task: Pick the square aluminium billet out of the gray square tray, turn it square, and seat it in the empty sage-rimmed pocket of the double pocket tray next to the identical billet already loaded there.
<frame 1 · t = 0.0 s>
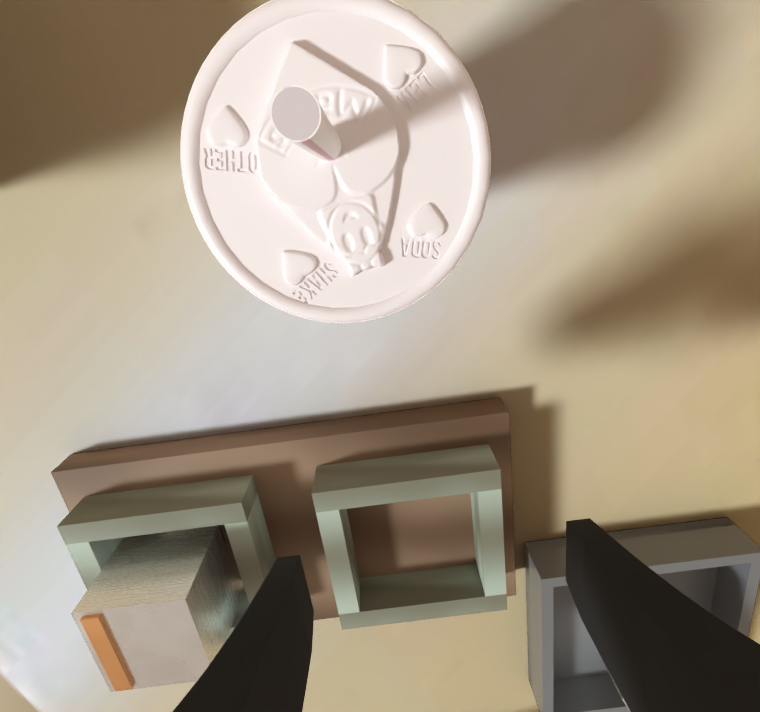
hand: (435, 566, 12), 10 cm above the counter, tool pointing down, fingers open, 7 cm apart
double pocket tray: (304, 517, 24), on the counter
gray square tray: (620, 604, 27), on the counter
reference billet: (191, 552, 23), point 1 cm above the counter, touching double pocket tray
smoothie: (352, 180, 18), on the counter
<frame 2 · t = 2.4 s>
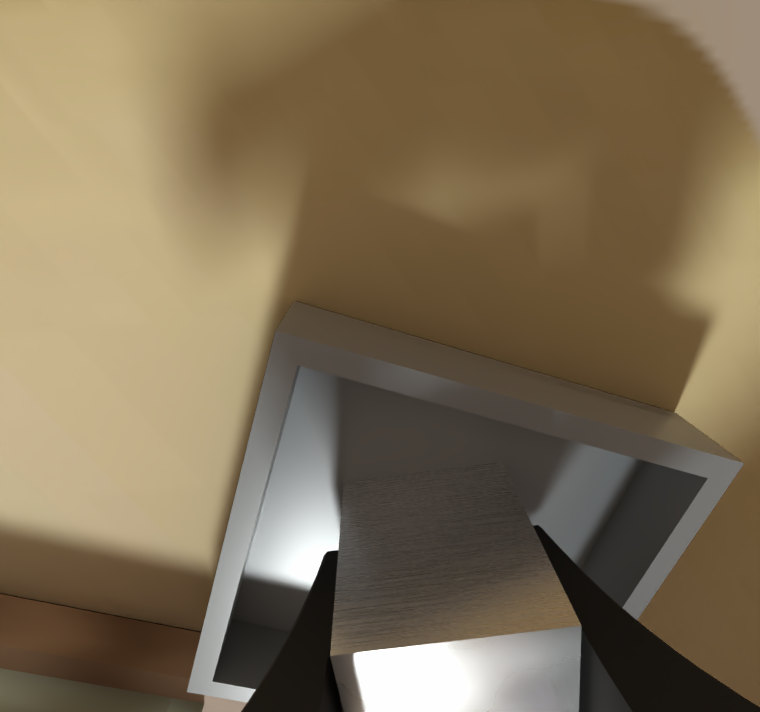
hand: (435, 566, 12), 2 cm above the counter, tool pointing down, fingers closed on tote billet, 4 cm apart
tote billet: (429, 534, 13), point 1 cm above the counter, touching gripper, gray square tray
gray square tray: (427, 520, 14), on the counter
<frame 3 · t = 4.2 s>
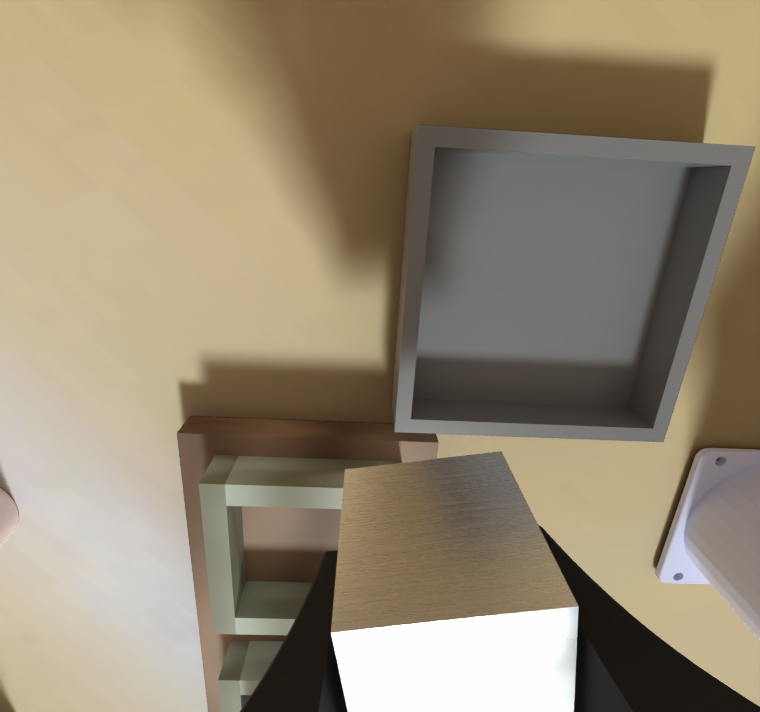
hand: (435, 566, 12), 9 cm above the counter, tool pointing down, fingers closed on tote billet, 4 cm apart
double pocket tray: (312, 595, 24), on the counter
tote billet: (429, 523, 14), point 8 cm above the counter, touching gripper
gray square tray: (533, 289, 19), on the counter
when the fingers open (4 cm above the counter, at t = 6.0 s): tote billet drops 1 cm, resting on double pocket tray.
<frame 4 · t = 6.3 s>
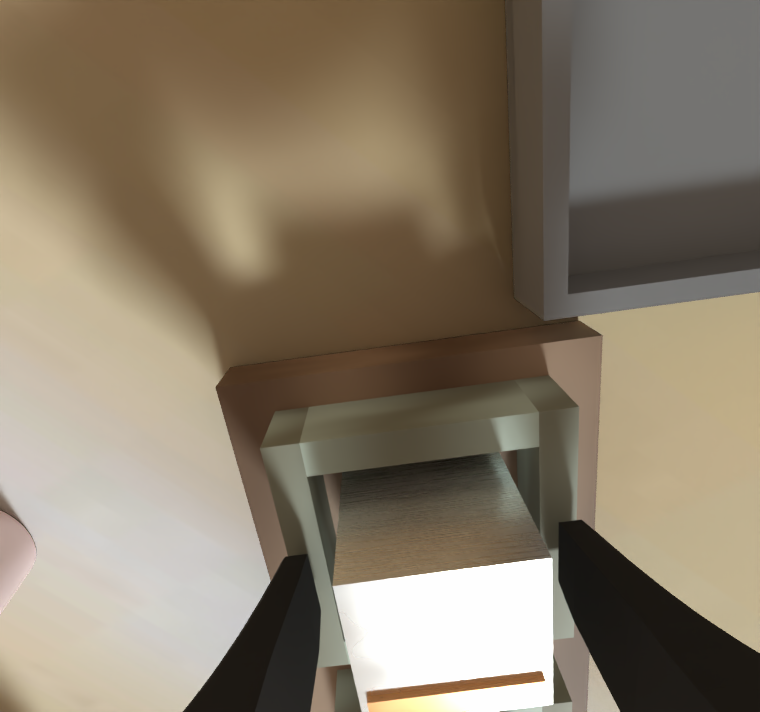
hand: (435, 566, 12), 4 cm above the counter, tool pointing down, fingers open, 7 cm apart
double pocket tray: (433, 594, 18), on the counter
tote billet: (423, 500, 15), point 1 cm above the counter, touching double pocket tray
gray square tray: (719, 62, 12), on the counter
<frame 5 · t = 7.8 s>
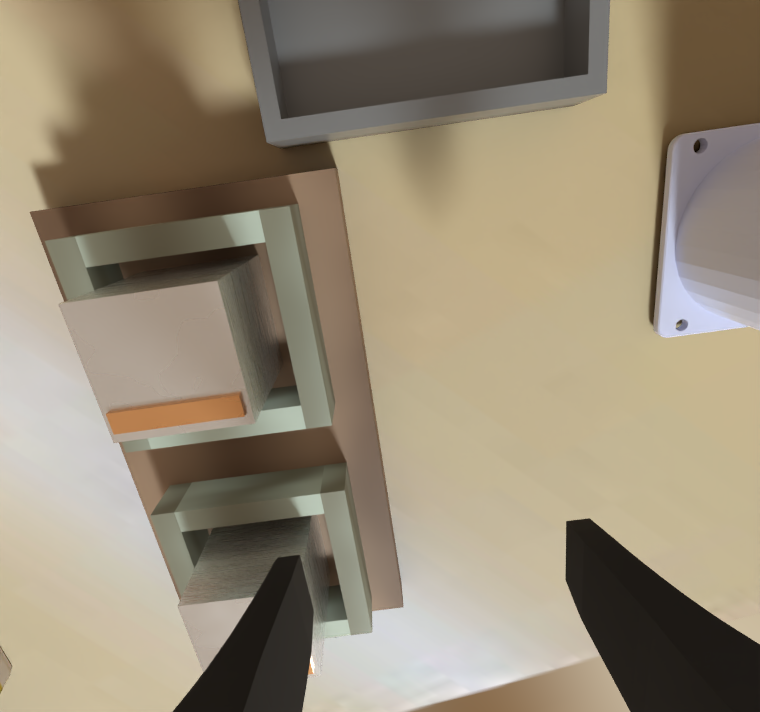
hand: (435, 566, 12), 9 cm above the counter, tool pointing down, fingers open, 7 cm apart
double pocket tray: (257, 427, 21), on the counter
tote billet: (216, 319, 18), point 1 cm above the counter, touching double pocket tray
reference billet: (276, 544, 22), point 1 cm above the counter, touching double pocket tray
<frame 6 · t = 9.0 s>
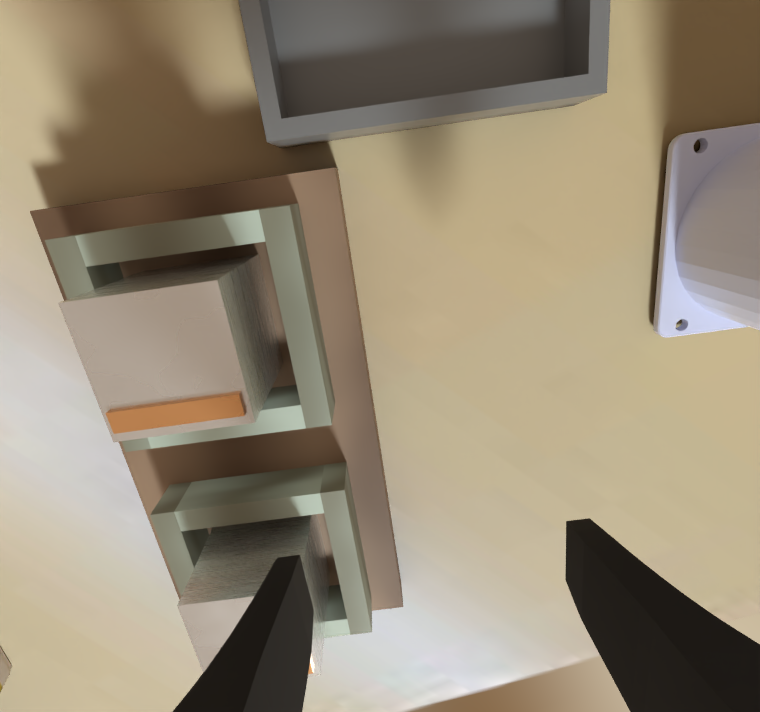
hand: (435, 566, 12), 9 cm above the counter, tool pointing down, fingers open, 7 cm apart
double pocket tray: (257, 427, 21), on the counter
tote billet: (216, 318, 18), point 1 cm above the counter, touching double pocket tray
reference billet: (276, 543, 22), point 1 cm above the counter, touching double pocket tray
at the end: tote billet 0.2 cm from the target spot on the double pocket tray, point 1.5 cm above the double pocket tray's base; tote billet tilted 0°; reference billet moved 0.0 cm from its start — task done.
